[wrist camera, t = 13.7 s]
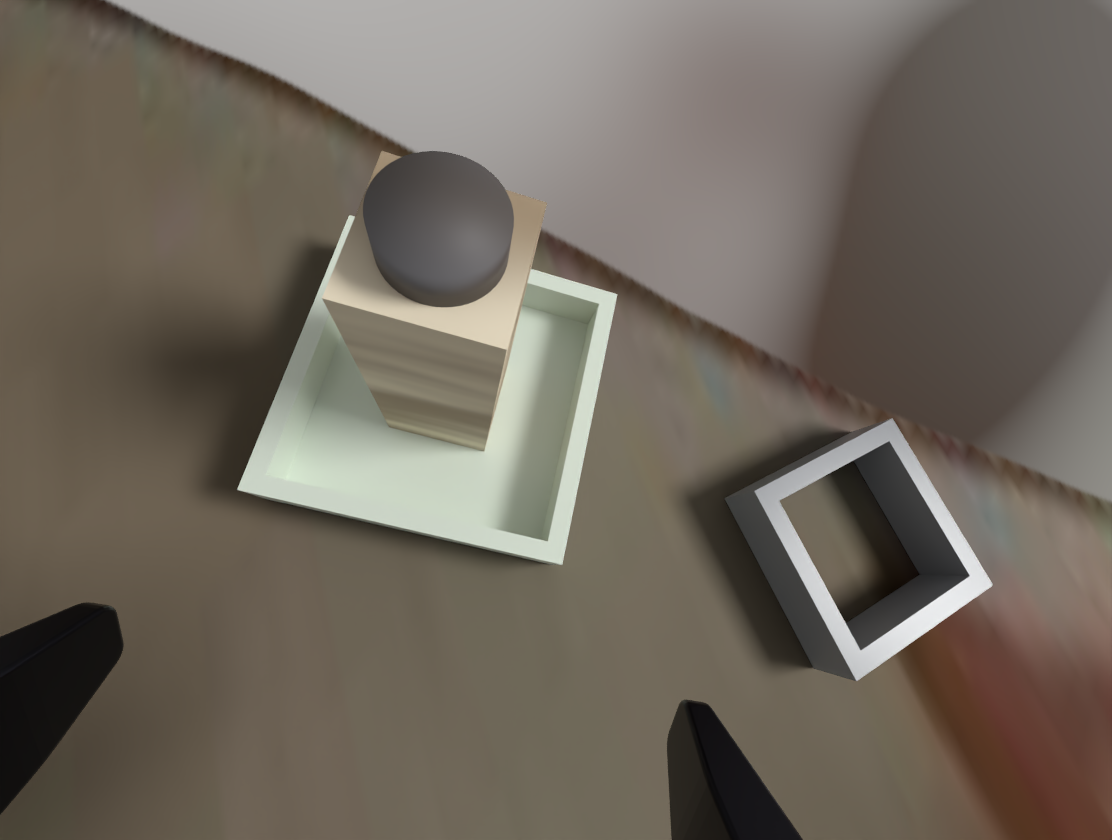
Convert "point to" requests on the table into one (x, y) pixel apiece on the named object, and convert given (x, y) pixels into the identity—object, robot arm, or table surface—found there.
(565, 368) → the sage tray
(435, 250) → the birch strut
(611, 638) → the table surface
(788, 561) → the frame
